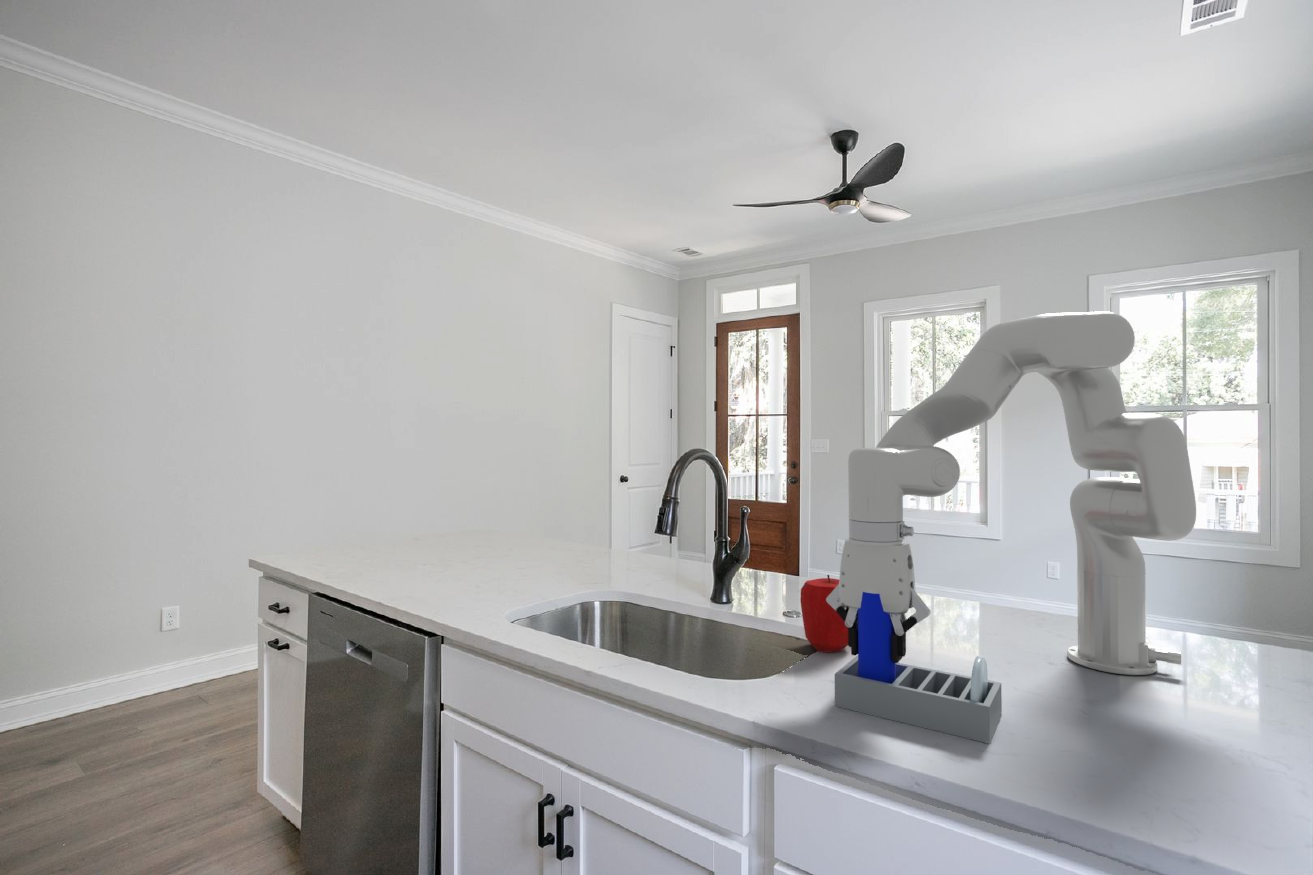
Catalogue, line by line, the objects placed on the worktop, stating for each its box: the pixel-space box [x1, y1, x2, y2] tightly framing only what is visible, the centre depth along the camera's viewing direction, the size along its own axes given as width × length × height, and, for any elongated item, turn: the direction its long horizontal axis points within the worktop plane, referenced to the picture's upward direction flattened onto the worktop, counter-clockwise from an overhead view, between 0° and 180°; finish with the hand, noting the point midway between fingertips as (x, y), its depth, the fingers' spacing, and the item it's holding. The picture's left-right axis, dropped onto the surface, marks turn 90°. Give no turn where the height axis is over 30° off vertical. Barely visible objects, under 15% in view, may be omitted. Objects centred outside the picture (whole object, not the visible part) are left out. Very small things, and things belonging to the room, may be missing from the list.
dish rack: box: [834, 654, 1003, 745], centre depth 91 cm, size 20×10×5 cm, turn 54°
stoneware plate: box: [970, 655, 989, 703], centre depth 87 cm, size 1×8×8 cm, turn 144°
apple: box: [799, 574, 849, 653], centre depth 119 cm, size 11×10×14 cm
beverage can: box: [857, 588, 896, 684], centre depth 95 cm, size 5×5×15 cm
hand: (876, 655), depth 95 cm, fingers closed on beverage can, 5 cm apart
